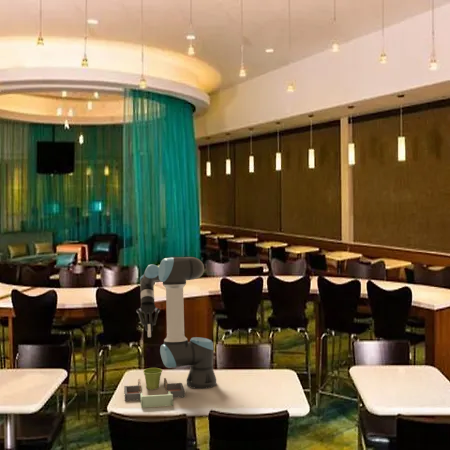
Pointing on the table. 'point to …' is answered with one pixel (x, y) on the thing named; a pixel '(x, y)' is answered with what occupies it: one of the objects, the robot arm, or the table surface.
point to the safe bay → (156, 400)
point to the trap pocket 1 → (132, 393)
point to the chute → (164, 384)
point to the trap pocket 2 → (176, 390)
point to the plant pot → (152, 377)
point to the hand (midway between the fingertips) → (149, 335)
